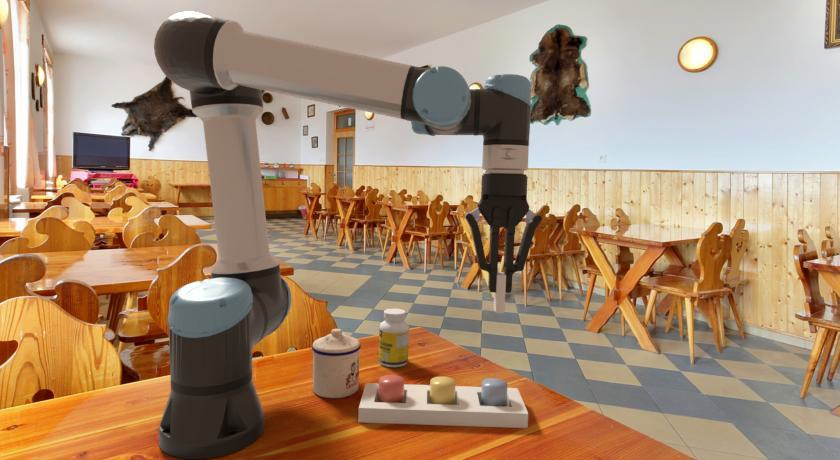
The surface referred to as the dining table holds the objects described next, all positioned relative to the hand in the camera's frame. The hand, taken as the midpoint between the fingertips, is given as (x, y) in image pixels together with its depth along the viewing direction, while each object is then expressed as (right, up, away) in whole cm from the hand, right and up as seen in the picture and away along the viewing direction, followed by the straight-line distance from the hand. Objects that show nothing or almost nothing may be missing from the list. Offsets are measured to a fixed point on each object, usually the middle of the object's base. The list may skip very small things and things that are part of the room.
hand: (498, 310), depth 85 cm
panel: (-10, -18, +2) cm, 20 cm away
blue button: (-1, -16, +2) cm, 17 cm away
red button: (-19, -16, +2) cm, 24 cm away
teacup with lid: (-30, -17, +11) cm, 36 cm away
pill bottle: (-19, -16, +24) cm, 35 cm away
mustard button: (-10, -16, +2) cm, 19 cm away
